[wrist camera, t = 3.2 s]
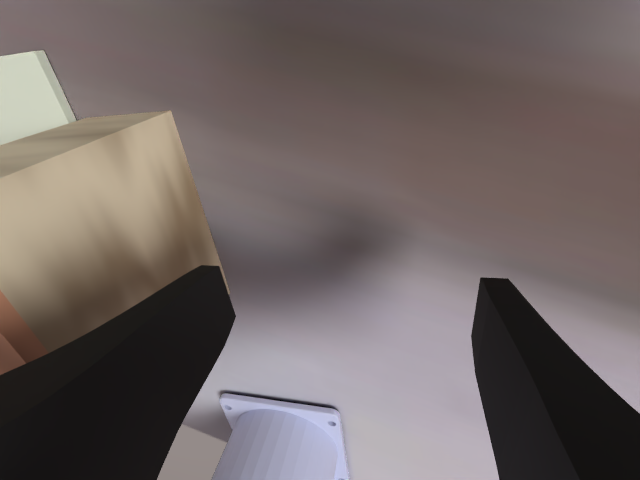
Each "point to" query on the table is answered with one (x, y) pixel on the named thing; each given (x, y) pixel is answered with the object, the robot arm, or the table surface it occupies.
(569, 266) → the table surface
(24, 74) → the green board
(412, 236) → the table surface
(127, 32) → the table surface
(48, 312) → the birch slab
